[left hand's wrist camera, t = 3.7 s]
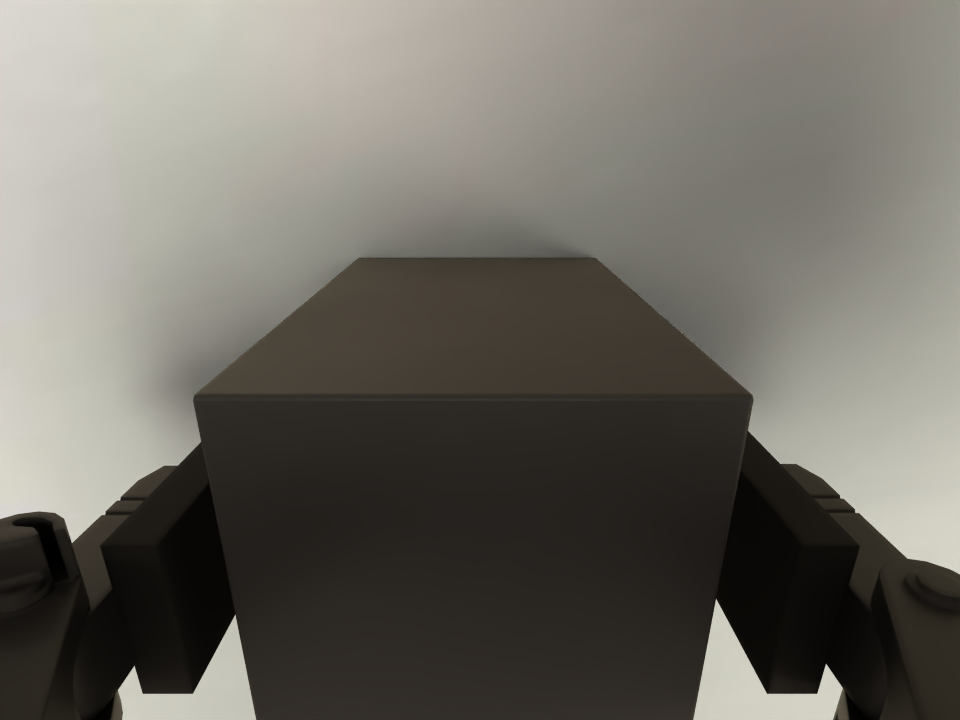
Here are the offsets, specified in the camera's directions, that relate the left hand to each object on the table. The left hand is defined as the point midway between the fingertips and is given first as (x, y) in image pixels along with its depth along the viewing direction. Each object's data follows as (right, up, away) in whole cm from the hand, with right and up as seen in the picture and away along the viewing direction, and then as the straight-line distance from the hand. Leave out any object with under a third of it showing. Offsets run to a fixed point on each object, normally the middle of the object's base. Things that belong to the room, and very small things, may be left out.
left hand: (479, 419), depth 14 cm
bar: (0, -9, +4) cm, 10 cm away
